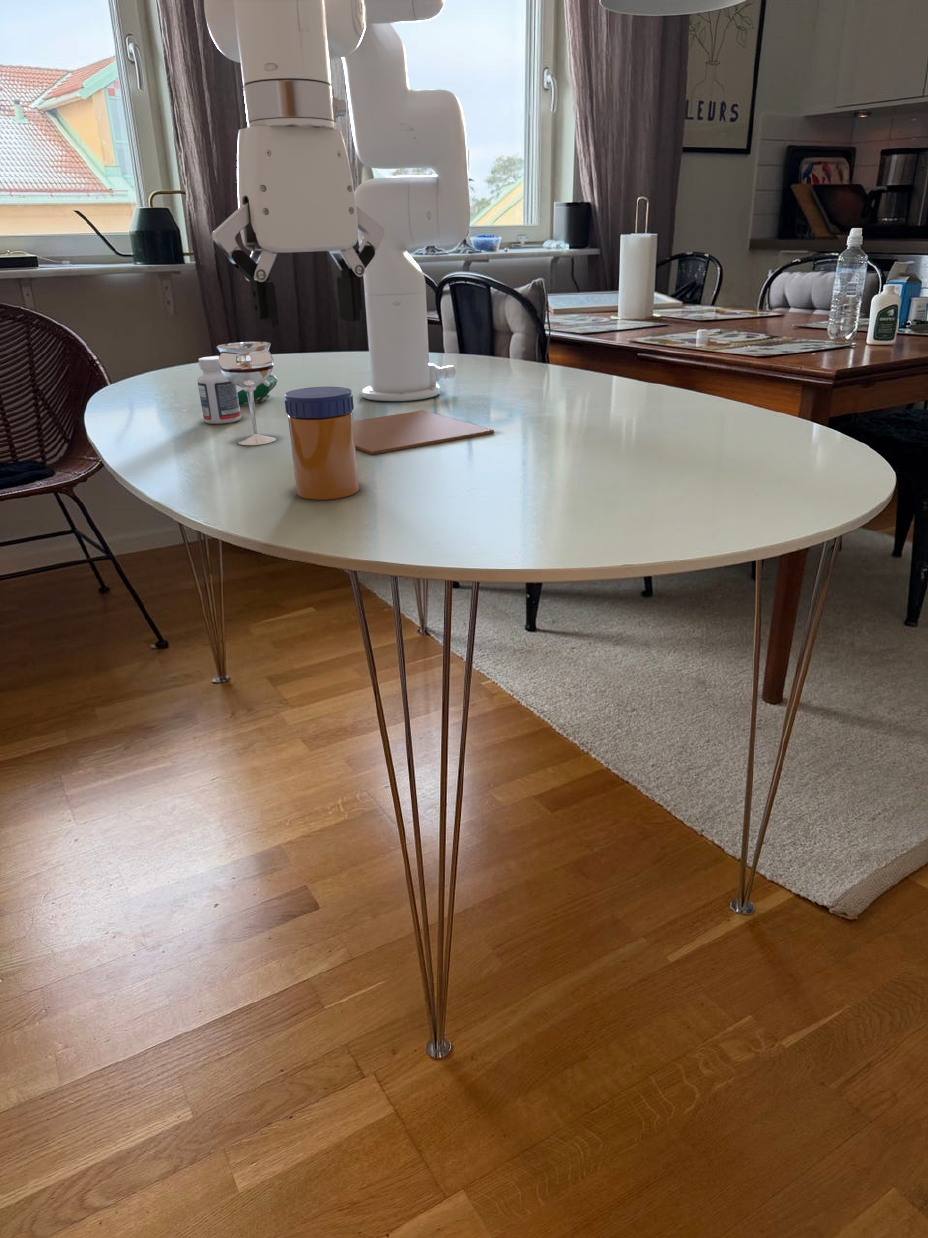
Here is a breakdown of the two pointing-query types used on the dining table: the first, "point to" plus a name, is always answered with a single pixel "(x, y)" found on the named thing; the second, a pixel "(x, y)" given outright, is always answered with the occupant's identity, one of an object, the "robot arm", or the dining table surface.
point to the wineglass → (247, 375)
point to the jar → (324, 456)
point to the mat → (410, 431)
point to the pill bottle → (217, 393)
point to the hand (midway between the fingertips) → (310, 322)
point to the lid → (319, 402)
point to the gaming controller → (259, 391)
